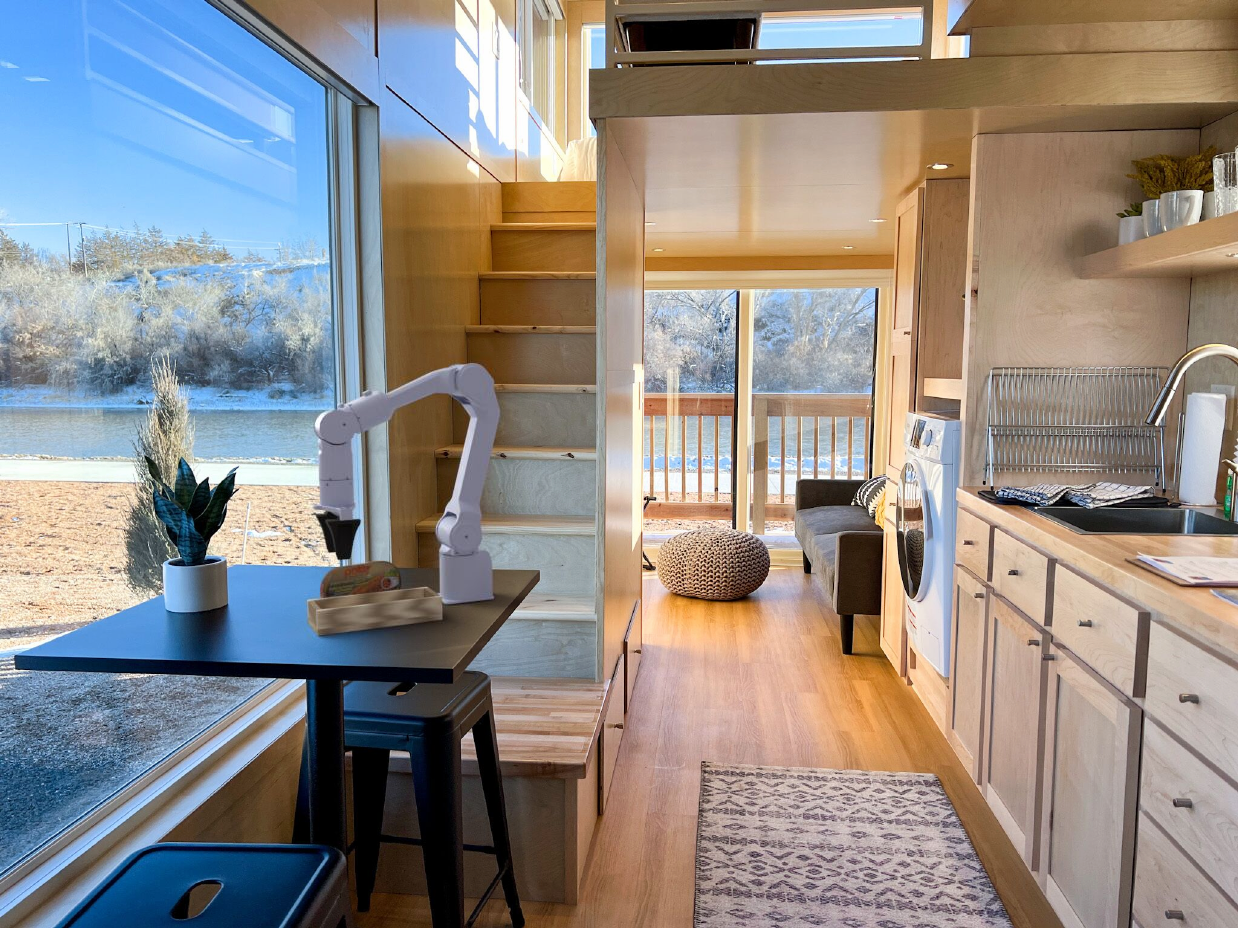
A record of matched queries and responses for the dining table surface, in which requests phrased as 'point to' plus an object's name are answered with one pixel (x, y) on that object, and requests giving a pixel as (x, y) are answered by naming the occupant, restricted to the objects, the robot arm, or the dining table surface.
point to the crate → (373, 610)
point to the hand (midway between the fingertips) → (338, 555)
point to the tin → (361, 579)
